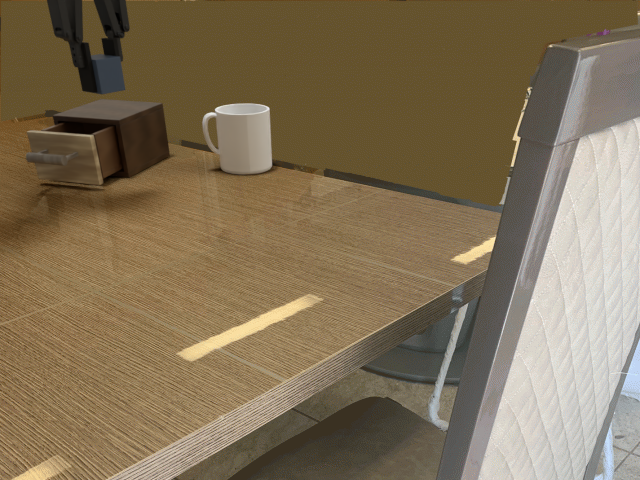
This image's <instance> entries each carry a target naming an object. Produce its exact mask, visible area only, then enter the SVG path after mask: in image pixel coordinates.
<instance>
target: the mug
mask: <svg viewBox="0 0 640 480" xmlns="http://www.w3.org/2000/svg"><path fill="white" fill-rule="evenodd" d="M270 111H271V110H270V107H269V106H267V105H265V104H259V103H232V104H225V105H221V106H220V105H219V106H218V107H216V108H214V112H213V111H212V112H211V111H210V112H207V113H206V114H204V116H203V118H202V132H203V137H204V140H205V142H206V146H207V147H208V148H209V149H210V150H211V152H213V153H214V154H215V155H218V157H219V168H220V169H221V171H222V172H224V173H228V174H231V175H255V174H256V175H257V174H261V173H265V172H267V171H269V170H271V168H272V167H273V155H272V153H273V152H272V133H271V132H272V131H271V114H270V113H271V112H270ZM213 118H215V127H216V136H217V146H218V147H217V148H216V147H215V145H214V144H213V142H212V139H211V137H210V134H209V125H208V124H209V121H210V119H213Z"/></svg>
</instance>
